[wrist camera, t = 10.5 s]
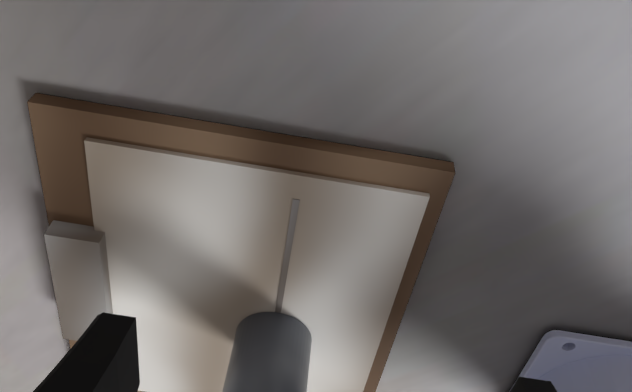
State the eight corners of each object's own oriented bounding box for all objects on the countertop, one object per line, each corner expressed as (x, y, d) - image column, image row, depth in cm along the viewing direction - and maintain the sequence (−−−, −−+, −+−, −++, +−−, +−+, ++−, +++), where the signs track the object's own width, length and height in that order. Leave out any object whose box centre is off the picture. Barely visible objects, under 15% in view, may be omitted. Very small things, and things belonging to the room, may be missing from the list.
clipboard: (453, 162, 20) (458, 187, 19) (360, 420, 30) (360, 447, 28) (35, 93, 19) (15, 114, 18) (82, 378, 29) (71, 404, 28)
